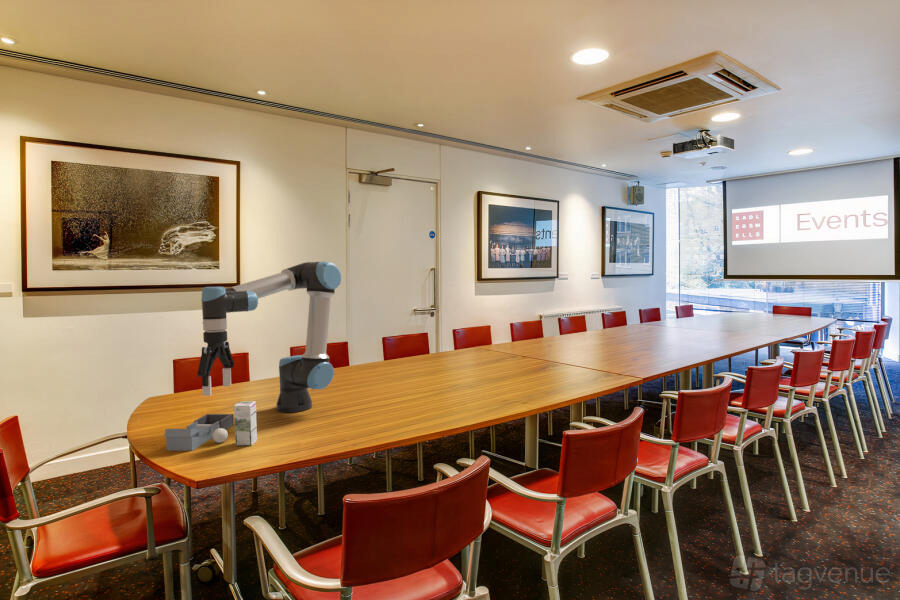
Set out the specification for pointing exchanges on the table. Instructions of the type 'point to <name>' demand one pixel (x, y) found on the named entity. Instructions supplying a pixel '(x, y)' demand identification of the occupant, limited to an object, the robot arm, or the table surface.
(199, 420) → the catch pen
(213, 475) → the table surface
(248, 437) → the syrup box
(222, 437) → the pale rubber ball
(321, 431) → the table surface
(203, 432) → the launch ramp
